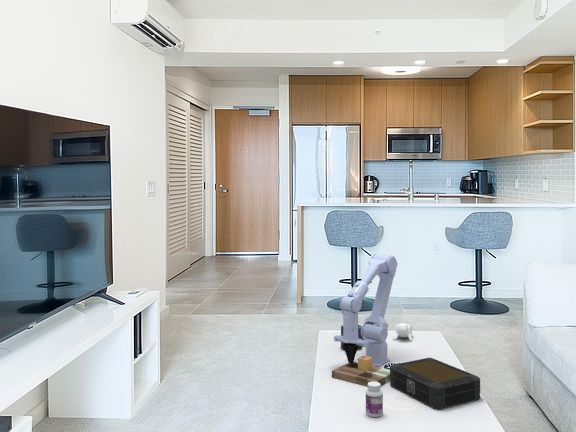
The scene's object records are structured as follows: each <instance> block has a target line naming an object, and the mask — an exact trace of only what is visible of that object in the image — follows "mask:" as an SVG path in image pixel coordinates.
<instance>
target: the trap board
mask: <svg viewBox="0 0 576 432" xmlns="http://www.w3.org/2000/svg"><path fill="white" fill-rule="evenodd" d="M331 378H333V379H337V380H341V381H345V382H349V383H352V384H355V385H360V386H363V387H367V388H368V383H369V382H379V383H380V384H381V387H382V386H384V385H386V384H387V383H390V369H388V368H384V367H380V366H374V365H373V368H371V369H370V370H368V371H366V370H362V369H358V361H354V362H353V363H348V362H347V363H345V364H343V365H341V366H339V367H336V368H335V369H333V370H331Z"/></svg>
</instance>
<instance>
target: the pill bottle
mask: <svg viewBox="0 0 576 432" xmlns="http://www.w3.org/2000/svg"><path fill="white" fill-rule="evenodd" d="M381 387H382V386H381V384H380V383H379V382H369V383H368V387H367V389H366V390H365V413H366V415H367V416H368V417H371V418H379V417H381V416H383V414H384V407H383V406H384V404H383V403H384V393H383V390H382V389H381Z"/></svg>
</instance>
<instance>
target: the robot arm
mask: <svg viewBox="0 0 576 432" xmlns="http://www.w3.org/2000/svg"><path fill="white" fill-rule="evenodd" d="M397 267H398V261H397V259H396V257H395V255H392V254H391V255H387V254H377V253H373V254H372V255H371V256H370V259H368V267H367V269H366V271H365V272H364V274H363V276H362V278H361V280H360V281H356V282H355V283H354V285H353V286H352V288H351V289H350V290H349V293H348V294H347V295H345V296H343V297H342V298H341V300H340V302H339V308H340V310H341V315H342V318H343V319H342V322H343V324H342V326H343V336H341V335H333V342H340V343H341V342H344V344H343V345H342V347H343V349H344V350H343V351H344V354H345V356H346V358H347V359H346V360H347V363H353V362H355V359H356V354H357V352H358V351H359V350H358V348H359V346H363V347H362V348H365V356H368V357H373V366H375V367H380V366H383V365H384V364H386V363H387V362H390V358H388V343H387V338H388V334H389V332H388V331H389V323H388V322H387V321H386V320H385V315H386V311H387V307H388V303H389V298H390V296H391V295H390V294H391V289H392V286H393V281H394V277H395V276H396V272H397ZM376 276H377V277H378V278H379V281H378V285H377V290H376V293H375V298H374V301H373V305H372V310H371V313H370V315H369V316H368V317H365V319H364V322H363V324H362V325H361V326H362V328H361V335H362V337H363V338H364V340H362V339H359V338H358V325H359V311H361V309H362V303H363V299H364V298H365V297H366V296H367V294H368V292H369V285H370V284H371V283H372V282H373V281H374V279H375V278H376Z"/></svg>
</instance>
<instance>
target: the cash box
mask: <svg viewBox="0 0 576 432" xmlns="http://www.w3.org/2000/svg"><path fill="white" fill-rule="evenodd" d="M389 370H390V381H389V385H390V386H391V387H392V388H394V389H396V390H397V391H400V392H402V393H403V394H404V395H407V396H409V397H411V398H412V399H414V400H417V401H419V402H420V403H422V404H424V405H426V406H428V407H430V408H432V409H434V410H443V409H446V408H451V407H454V406H459V405H462V404H468V403H469V402H471V403H472V402H474V401H478V400H480V399H481V378H480V377H479V376H478V375H476V374H473V373H470V372H467V371H466V370H463V369H461V368H458V367H455V366H453V365H451V364H448V363H446V362H443V361H441V360H438V359H436V358H433V357H425V358H419V359H414V360H411V361H405V362H400V363H395V364H392V365H390V366H389Z"/></svg>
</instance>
